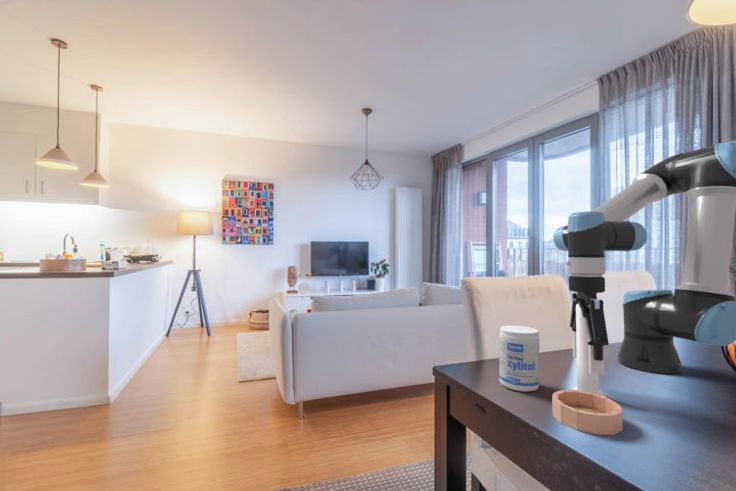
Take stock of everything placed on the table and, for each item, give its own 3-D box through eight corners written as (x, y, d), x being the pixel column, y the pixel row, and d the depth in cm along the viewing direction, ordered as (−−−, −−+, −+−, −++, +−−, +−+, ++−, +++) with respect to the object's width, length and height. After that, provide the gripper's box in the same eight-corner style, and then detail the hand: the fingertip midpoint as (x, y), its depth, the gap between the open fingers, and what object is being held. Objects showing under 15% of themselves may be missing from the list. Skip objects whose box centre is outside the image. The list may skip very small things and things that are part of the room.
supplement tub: (508, 393, 84) (507, 333, 84) (494, 378, 94) (493, 325, 94) (547, 393, 84) (546, 333, 84) (529, 378, 93) (528, 325, 94)
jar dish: (596, 406, 77) (595, 390, 77) (637, 434, 65) (637, 415, 65) (542, 406, 77) (541, 390, 77) (573, 434, 65) (573, 415, 65)
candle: (611, 402, 78) (609, 293, 79) (577, 400, 80) (576, 293, 80) (597, 390, 85) (595, 290, 86) (566, 388, 87) (565, 290, 87)
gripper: (556, 272, 96) (557, 350, 95) (585, 278, 73) (586, 381, 72) (586, 272, 94) (588, 352, 93) (626, 279, 71) (628, 385, 70)
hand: (587, 365), depth 83 cm, fingers open, 11 cm apart
